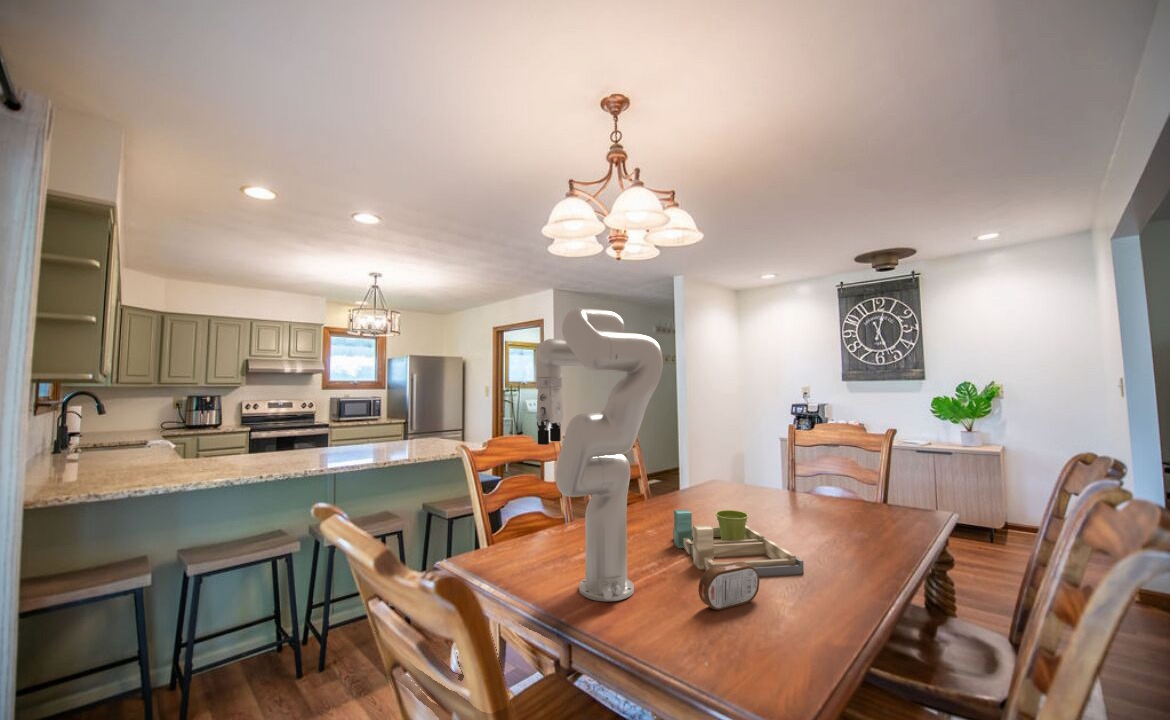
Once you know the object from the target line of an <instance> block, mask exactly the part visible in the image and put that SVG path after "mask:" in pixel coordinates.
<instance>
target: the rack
mask: <svg viewBox="0 0 1170 720" xmlns="http://www.w3.org/2000/svg"><path fill="white" fill-rule="evenodd" d="M764 538H766V537H765V536H764ZM690 550H691V555H690V556H691V557H692V548H690ZM754 568H755V569H756V570H757V572H758V574H759V577H772V576H775V577H776V576H789V575H802V574H804V572H805V571H804V570H805V569H804V560H803V559H801V558H799V557H797V556H796V565H782V566H765V567H754Z"/></svg>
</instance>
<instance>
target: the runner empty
mask: <svg viewBox="0 0 1170 720" xmlns="http://www.w3.org/2000/svg"><path fill="white" fill-rule="evenodd" d="M711 527H712V526H710V525H709V524H692V528H693V539H692V542H693V546H692V556H691V557H692V558H693V565H694V566H695V567H696V568H697V569H698V570H704V571H705V572H706V571H707V570H708V569H709V568H711V567H713V566H718V565H724V564H729V563H734V562H740V561H741V560H738V561H719V562H715V558H720V557H721V558H722V557H723V558H724V557H725V558H726V557H739V556H740V557H742V556H759V555H762V556H763V555H765V556H768V558H770V559H759V560H758V559H757V560H742V561H743V562H746V563H747V564H749V565H750V566H752V567H765V566H782V565H796V557H797V555H795V554H794V553H792V552H790V551H789V550H787V549H785V548H784V547H782V546H780V545H779V544H777V543H776V542H774V541H772V540H770V539H769V538H768V537H765V538H763V542H753V543H733V544H714V541H715V540H714V539H715V538H713V528H711Z"/></svg>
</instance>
